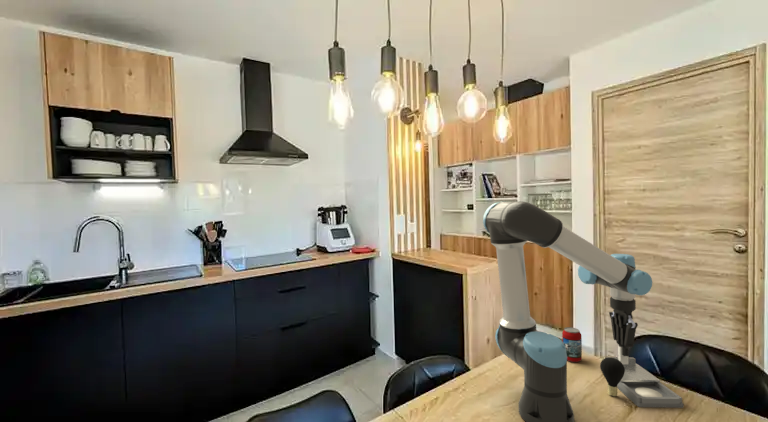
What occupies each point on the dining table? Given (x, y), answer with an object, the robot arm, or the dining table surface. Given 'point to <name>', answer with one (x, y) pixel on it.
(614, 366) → the light bulb
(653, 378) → the lid
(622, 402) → the dining table surface
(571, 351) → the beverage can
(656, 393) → the holder
